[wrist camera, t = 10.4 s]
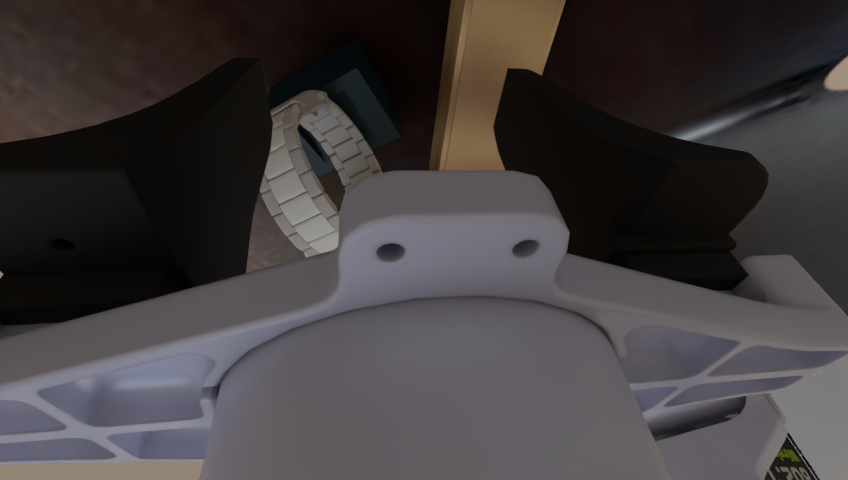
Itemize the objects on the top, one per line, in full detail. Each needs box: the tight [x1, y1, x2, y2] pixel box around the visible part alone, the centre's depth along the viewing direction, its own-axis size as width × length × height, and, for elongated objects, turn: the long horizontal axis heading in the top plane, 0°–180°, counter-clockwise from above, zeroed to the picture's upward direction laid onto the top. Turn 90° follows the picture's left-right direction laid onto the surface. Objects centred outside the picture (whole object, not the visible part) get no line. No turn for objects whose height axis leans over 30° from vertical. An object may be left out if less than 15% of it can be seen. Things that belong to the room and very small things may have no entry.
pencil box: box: [429, 0, 566, 171], centre depth 22 cm, size 14×4×3 cm, turn 175°
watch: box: [260, 40, 401, 257], centre depth 20 cm, size 6×8×11 cm
